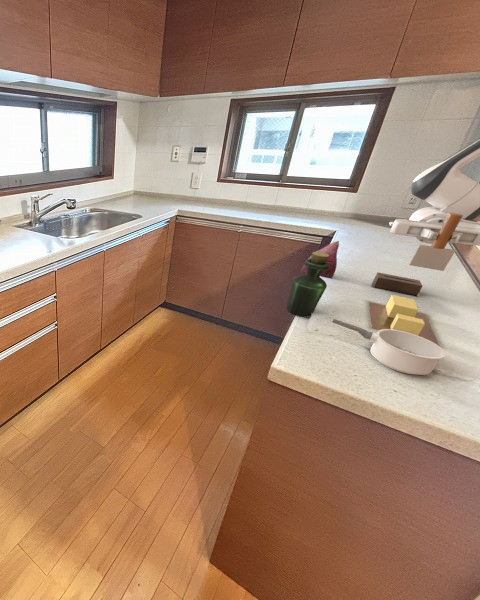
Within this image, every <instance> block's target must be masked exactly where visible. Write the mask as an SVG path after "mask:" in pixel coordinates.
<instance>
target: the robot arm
mask: <svg viewBox="0 0 480 600" xmlns="http://www.w3.org/2000/svg"><path fill="white" fill-rule="evenodd" d="M478 157H480V137H479V138H478V139H475V140H474V141H472V142H471V143H469V144H468V145H466V146H464V147H463V148H461V149H460V150H458V151H457V152H455V153H454V154H451V155H450V156H449V157H447V158H445V159H444V160H442V161H440V162H439V163H437V164H435V165H433V166H430V167H429V168H427V169H425V170H423V171H422V172H420V173H419V174H418V175H416V177H415V178H414V179H413V180H412V181H411V183H410V190H411V195H412V196H414V197H416V198H418V199H420V200H422V201H425V202H426V203H428V204H430V205H431V206H425V207H422V208H419V209H417V210H415V211H414V212H413V213H412V214H411V215H410V217H409V219H407V218H396V219H395V220H394V221H390V222H389V223H388V225H389V226H390V230H389V233H390V234H393V235H398V236H406V237H412V238H413V237H414V238H416V239H417V240H418V241H419V242H421V243H424V244H431V245H432V243H433V242H434V240H436V239H437V236H438V235H439V231H440V229H441V227H442V225H443V223H444V222H445V220H446V218H447V216H448V214H449V213H457V214H462V215H463V217H462V219H461V220H460V222H459V224H458V226H457V227H456V229H455V231H454V233H453V234H452V236H451V238H450V240H449V241H448V243H447V244H456V245H466V246H467V245H469V246H478V247H480V220H475V219H476V218H478V217H480V182H477V181H475V180H474V179H472V178H470V177H469V176H467V175H466V174H465V173H462V172H461V171H460V169H461V168H462V167H463V166H466V165H467V164H469V163H470V162H472V161H473V160H475V159H477V158H478Z"/></svg>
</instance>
